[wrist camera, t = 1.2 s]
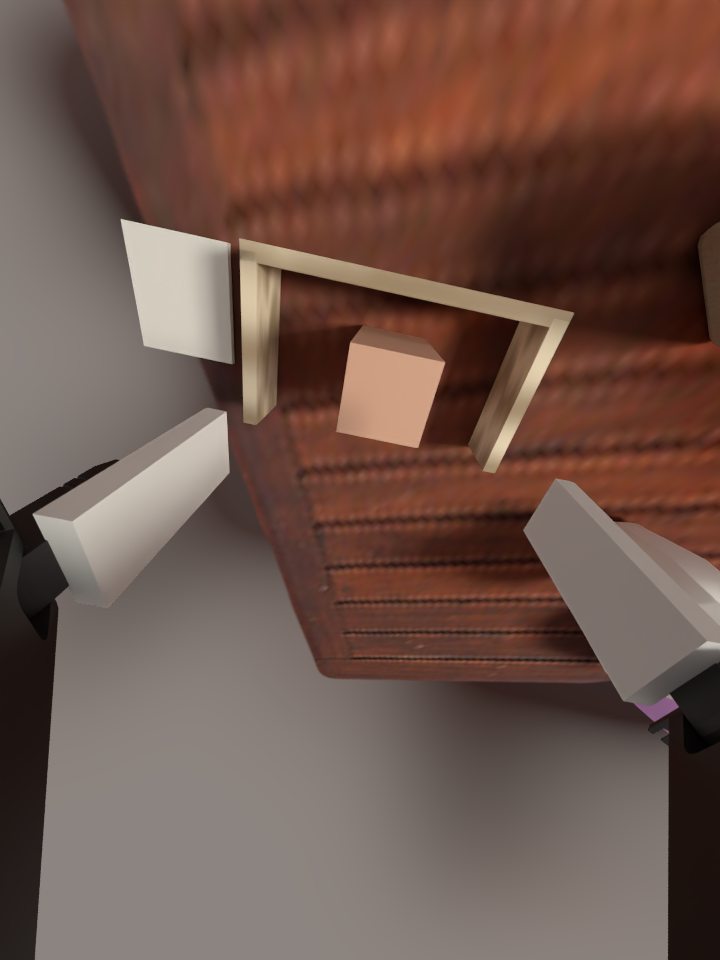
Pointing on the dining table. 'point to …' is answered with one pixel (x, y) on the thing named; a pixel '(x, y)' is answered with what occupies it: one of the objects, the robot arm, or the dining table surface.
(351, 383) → the terracotta block
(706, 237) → the wooden block
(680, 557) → the vase
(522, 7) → the dining table surface
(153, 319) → the white tile
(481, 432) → the frame
